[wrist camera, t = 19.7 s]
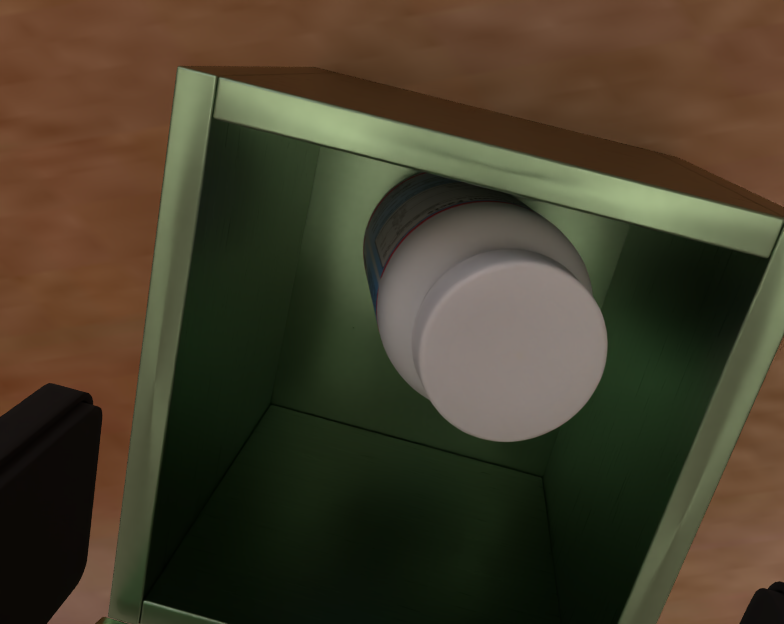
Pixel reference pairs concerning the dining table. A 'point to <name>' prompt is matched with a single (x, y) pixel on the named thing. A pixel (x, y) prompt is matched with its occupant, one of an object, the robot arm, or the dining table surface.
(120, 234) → the dining table surface
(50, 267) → the dining table surface
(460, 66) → the dining table surface
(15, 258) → the dining table surface
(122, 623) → the bin lid
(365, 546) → the waste bin
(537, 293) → the pill bottle
